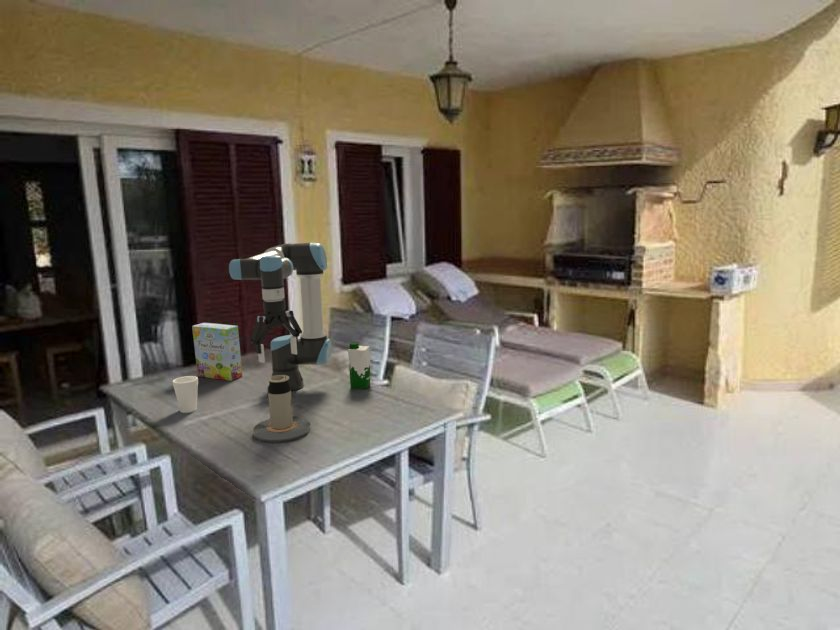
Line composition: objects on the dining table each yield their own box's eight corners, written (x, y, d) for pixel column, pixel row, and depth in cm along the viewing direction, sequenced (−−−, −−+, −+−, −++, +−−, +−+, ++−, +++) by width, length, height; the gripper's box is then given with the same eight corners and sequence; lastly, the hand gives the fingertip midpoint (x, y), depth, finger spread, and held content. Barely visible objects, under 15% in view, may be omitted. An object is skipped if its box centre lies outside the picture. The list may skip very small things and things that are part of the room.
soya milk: (353, 383, 258) (351, 340, 254) (372, 383, 257) (371, 341, 253) (348, 389, 250) (345, 345, 246) (367, 389, 248) (365, 346, 244)
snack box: (196, 377, 273) (190, 325, 268) (209, 372, 281) (204, 322, 276) (231, 381, 264) (226, 328, 260) (243, 376, 272) (239, 324, 267)
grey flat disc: (289, 417, 218) (289, 411, 217) (321, 430, 204) (320, 424, 204) (243, 432, 204) (242, 427, 203) (273, 448, 190) (273, 441, 190)
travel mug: (268, 430, 200) (264, 381, 196) (273, 421, 207) (269, 374, 204) (290, 429, 200) (287, 381, 196) (294, 420, 208) (291, 374, 204)
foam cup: (178, 416, 222) (175, 384, 219) (174, 409, 229) (170, 378, 227) (203, 410, 227) (200, 380, 224) (198, 404, 235) (195, 374, 232)
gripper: (247, 306, 186) (253, 367, 190) (309, 295, 204) (313, 352, 208) (236, 304, 191) (241, 363, 195) (297, 293, 209) (301, 348, 213)
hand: (278, 357), depth 202 cm, fingers open, 13 cm apart
